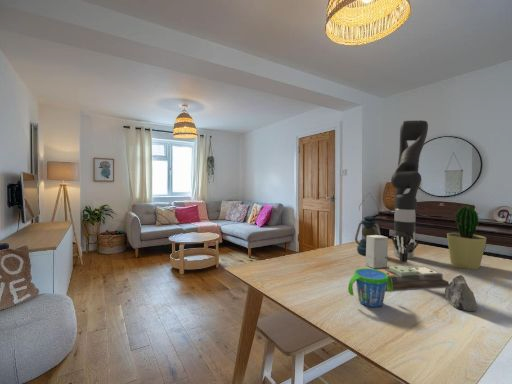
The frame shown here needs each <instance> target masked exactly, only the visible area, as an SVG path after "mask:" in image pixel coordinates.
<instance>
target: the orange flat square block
mask: <svg viewBox="0 0 512 384" xmlns="http://www.w3.org/2000/svg"><path fill="white" fill-rule="evenodd" d="M378 269H379V271H382V272H384V273H386V274H387V275H388V276H394V275H393V274H391V273H389V272H387V271H385V270H383V269H384V268H378Z"/></svg>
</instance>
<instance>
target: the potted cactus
mask: <svg viewBox="0 0 512 384" xmlns="http://www.w3.org/2000/svg"><path fill="white" fill-rule="evenodd" d="M479 217H480V216H479V213H478V211H477V210H475V209H474V207H473V206H468V205H465V206H462V207H460V208H459V209H458V211H456V212H455V219H454V223H457V225H456V226H457V230H458V232H448V233H446V237H447V238H446V239H447V245H448V252H449V260H450V264H451V265H452V266H455V267H459V268H462V269H467V270H478V269H480V268H481V264H482V260H483V256H484V253H485V252H484V251H485V247H486V243H487V237H485V236H483V235H480V234H479V235H477V234H475V233H476V231H477V227H479V225H480V223H479V222H480V219H479Z"/></svg>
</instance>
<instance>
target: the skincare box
mask: <svg viewBox="0 0 512 384" xmlns="http://www.w3.org/2000/svg"><path fill="white" fill-rule="evenodd" d="M388 246H389V237H388V236H384V235H377V234H375V235H369V236H366V256H365V266H367V267H370V269H384V268H387V267H388V249H389V247H388Z"/></svg>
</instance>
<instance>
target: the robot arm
mask: <svg viewBox="0 0 512 384" xmlns="http://www.w3.org/2000/svg"><path fill="white" fill-rule="evenodd" d="M428 129H429V124H428V121H426V120H417V119H416V120H403V121H402V123H401V124H400V128H399V154H398V163H397V168H396V169H395V170H394V172H393V174H392V176H391V178H390V184H391V186H392V187H394V188H395V193H394V198H393V200H394V201H393V211H394V215H393V216H394V218H393V219H394V220H393V223H394V224H393V230H394V231H395V234H394V236H391V237H390V239H391V241H392V243H393V255H394V256H396V257H397V258H399V262H401V263H407V262H408V259H414V258H415V249H416V248H417V247H418V246H419V243H418V241H415V240H416V218H417V217H416V215H417V208H418V201H417V198H416V197H417V193H418V191H419V188H420V184H421V182H422V175H421V173H420V172H419V167H420V166H419V164H420V157H421V152H422V151H423V148H424V144H425V141H426V138H427V135H428ZM408 141H414V142H413V143H411V145H409V143H408ZM408 189H409V191H408V192H406V190H408ZM405 192H406V193H405Z"/></svg>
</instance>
